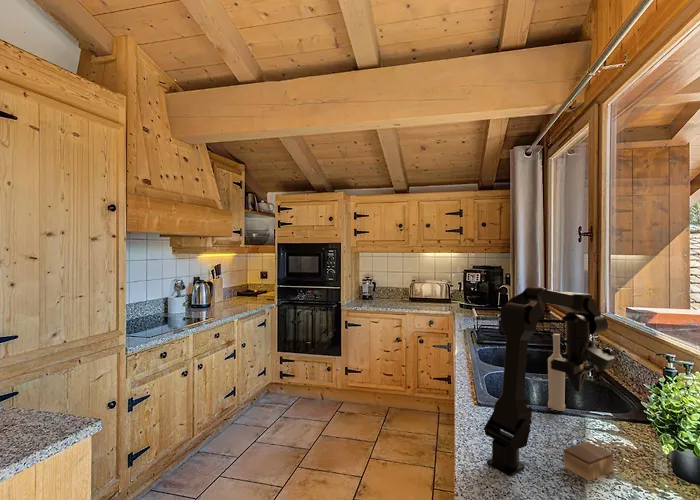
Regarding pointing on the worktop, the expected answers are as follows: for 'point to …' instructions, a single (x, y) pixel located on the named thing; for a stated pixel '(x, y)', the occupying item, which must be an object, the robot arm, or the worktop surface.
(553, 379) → the bottle
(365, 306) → the worktop surface
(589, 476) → the birch block
